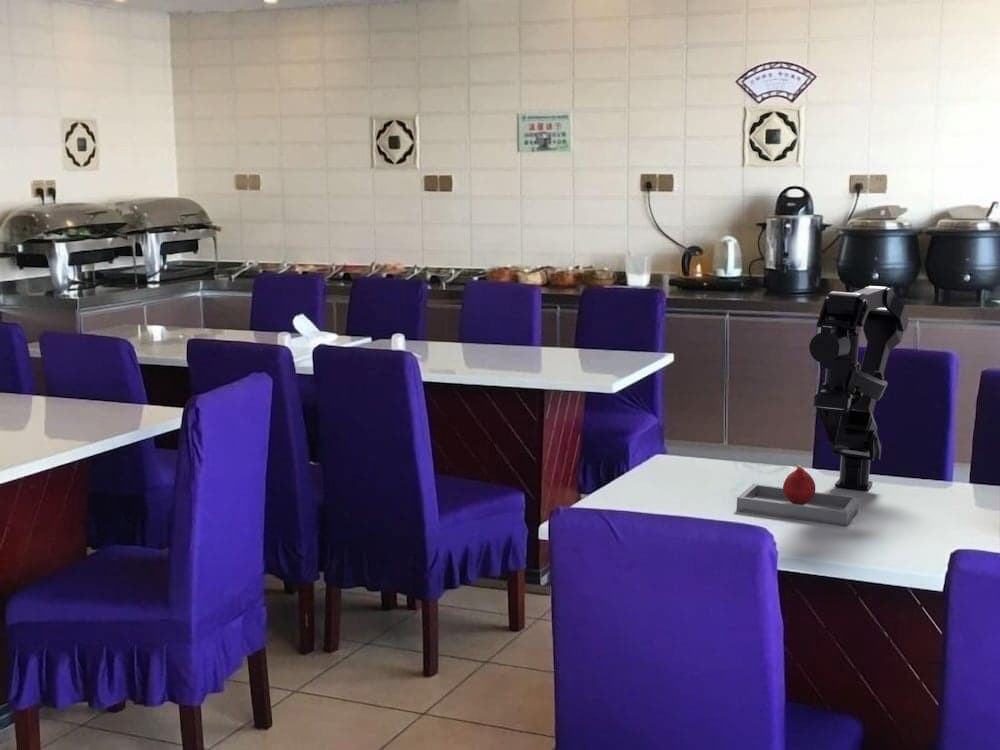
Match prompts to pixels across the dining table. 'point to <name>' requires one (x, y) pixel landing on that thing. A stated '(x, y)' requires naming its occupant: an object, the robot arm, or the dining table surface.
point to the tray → (816, 509)
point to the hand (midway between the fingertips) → (836, 437)
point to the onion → (799, 487)
